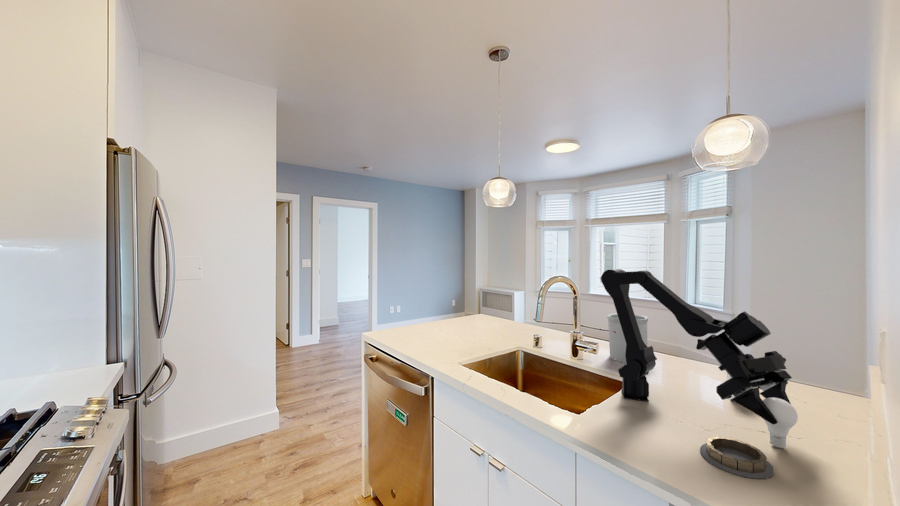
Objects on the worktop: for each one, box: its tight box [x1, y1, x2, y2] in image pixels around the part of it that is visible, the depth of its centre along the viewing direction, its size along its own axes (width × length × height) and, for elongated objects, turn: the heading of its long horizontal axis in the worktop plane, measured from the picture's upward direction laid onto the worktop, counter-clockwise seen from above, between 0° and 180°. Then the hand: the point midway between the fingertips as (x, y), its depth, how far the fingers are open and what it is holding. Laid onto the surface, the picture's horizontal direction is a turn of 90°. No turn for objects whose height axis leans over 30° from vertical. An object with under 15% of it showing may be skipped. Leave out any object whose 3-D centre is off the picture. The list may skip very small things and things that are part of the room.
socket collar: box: [705, 436, 768, 473], centre depth 73 cm, size 10×10×2 cm
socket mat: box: [699, 443, 775, 480], centre depth 73 cm, size 12×12×1 cm
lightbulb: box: [762, 397, 799, 449], centre depth 77 cm, size 6×6×11 cm
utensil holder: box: [607, 312, 649, 364], centre depth 141 cm, size 15×15×18 cm
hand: (785, 420), depth 76 cm, fingers open, 7 cm apart
